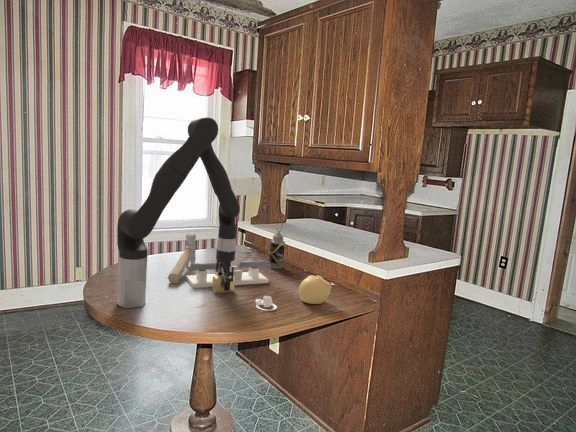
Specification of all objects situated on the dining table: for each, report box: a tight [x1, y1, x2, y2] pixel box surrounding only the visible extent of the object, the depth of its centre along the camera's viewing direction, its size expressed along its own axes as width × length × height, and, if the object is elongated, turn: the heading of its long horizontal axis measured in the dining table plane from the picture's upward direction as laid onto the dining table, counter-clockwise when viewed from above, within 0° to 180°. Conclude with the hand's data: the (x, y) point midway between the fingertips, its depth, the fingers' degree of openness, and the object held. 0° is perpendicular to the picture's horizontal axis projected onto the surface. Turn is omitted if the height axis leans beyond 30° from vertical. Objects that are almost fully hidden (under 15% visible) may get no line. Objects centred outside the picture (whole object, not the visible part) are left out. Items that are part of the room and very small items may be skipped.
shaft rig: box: [185, 260, 270, 289], centre depth 180 cm, size 12×34×8 cm, turn 118°
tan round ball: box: [298, 274, 332, 305], centre depth 164 cm, size 11×12×11 cm
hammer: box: [167, 231, 197, 285], centre depth 183 cm, size 16×5×30 cm
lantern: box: [267, 218, 286, 270], centre depth 207 cm, size 9×8×25 cm
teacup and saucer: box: [254, 295, 278, 312], centre depth 155 cm, size 9×8×4 cm
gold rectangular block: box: [211, 275, 235, 294], centre depth 167 cm, size 4×8×6 cm, turn 118°
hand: (223, 287), depth 168 cm, fingers open, 8 cm apart
